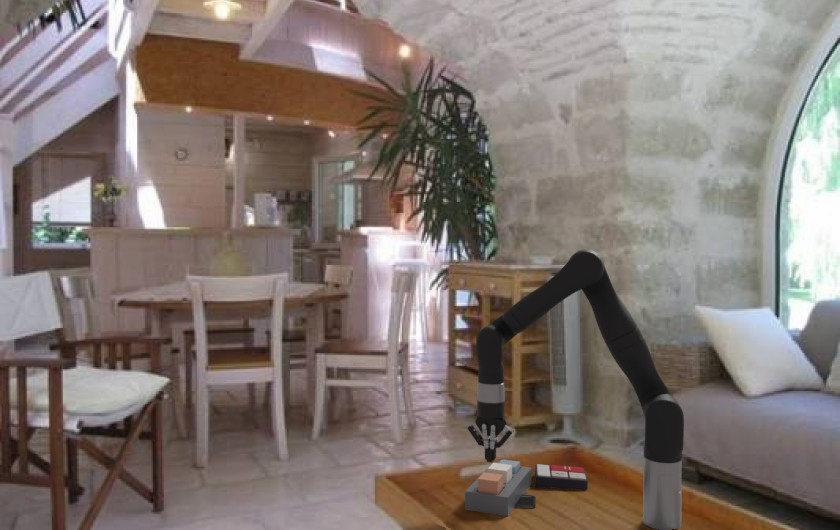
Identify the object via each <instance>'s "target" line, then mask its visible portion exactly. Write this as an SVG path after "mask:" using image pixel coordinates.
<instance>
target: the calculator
mask: <svg viewBox="0 0 840 530" xmlns="http://www.w3.org/2000/svg"><path fill="white" fill-rule="evenodd" d="M586 473H587V472H586V470H585V469H584V467H580V466H579V467H578V466H568V465H555V464H550V465H548V464H541V463H540V464H539V463H537V464H536V465H535V467H534V484H535V488H537V489H538V488H539V489H559V490H560V489H562V490H577V491H579V490H582V491H584V490H585V491H587V490H588V487H589V486H588V485H589V482H588V481H589V480H588V477H587V474H586Z"/></svg>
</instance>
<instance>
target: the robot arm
mask: <svg viewBox="0 0 840 530" xmlns="http://www.w3.org/2000/svg"><path fill="white" fill-rule="evenodd" d="M581 290H582V293H583V294H584V296H585V297H586V299H587V301H588V302H589V305H590V306H591V310H592V312H593V315H594V318H595V321H596V324H597V327H598V329H599V332H600V334H601V337H602V339H603V340H604V343H605V345H606V348H608V351H609V352H610V354H611V356H612V357H613V359H614V361H615V362H616V364H617V366H618V367H619V368H620V370H621V371H622V373H623V374H624V375H625V377H626V378H627V380H628V381H629V382H630V384H631V386H632V387H633V390H634V392H635V394H636V397H637V400H638V401H639V404H640V407H641V409H642V413H643V417H644V419H645V420H644V423H645V425H644V444H643V482H642V483H643V486H642V487H643V489H642V490H643V491H642V492H643V493H642V495H643V496H642V498H643V499H642V502H643V503H642V504H643V505H642V509H643V510H642V516H643V517H642V522H643V524H644V525H645V526H647V527H649V528H651V529H655V530H658V529H659V530H671V529H680V528H682V508H683V506H682V503H683V502H682V498H683V497H682V495H683V494H682V493H683V491H682V490H683V487H682V486H683V485H682V466H683V465H682V462H683V461H682V457H683V456H682V455H683V450H684V437H685V436H684V434H685V432H684V430H685V417H684V411H683V408H682V407H681V405H680V404H679V402H678V401H677V399H676V398H675V397H674V396H673V394H672V393H671V392H670V390H669V389H668V387H667V386H666V384H665V382H664V381H663V380H662V377H661V376H660V374H659V372H658V371H657V369H656V365H655V363H654V360H653V356H652V354H651V351H650V349H649V347H648V344H647V341H646V339H645V338H644V335H643V334H642V332H641V330H640V328H639V326H638V324H637V322H636V321H635V319H634V317H633V316H632V314H631V313H630V311H629V310H628V308H627V307H626V305H625V304H624V302H623V301H622V300H621V298H620V297H619V295H618V294H617V292H616V290H615V288H614V286H613V284H612V281H611V279H610V276H609V275H608V271H607V268H606V266H605V262H604V260H603V258H602V256H601V255H600V254H599V253H598V252H596V251H594V250H592V249H589V248H584V249H580V250H578V251H575V253H573V254H572V255H571V256H570V258H569V260H568V261H567V263H566V264H564V265H563V267H562V268H561V269H560V270H559V271H558V272H557V273H556V274H555V275H553V276H552V277H551V278H550V279H549V280H548V281H546V282H544V284H542V285H540V286H539V287H538V288H536V289H535V290H533V291H532V292H530V293H528V294H527V295H525V296H524V297H523V298H521V299H519V301H517V302H516V303H515V304H513V305H512V306H510V308H508V309H507V310H506V311H505V312H504V313H503V314H502V315H501V316H499V317H498V318H496V319H495V320H493V321H492V322H490V323H488V325H485V326H484V327H483V328H481V329H480V330H479V331H478V333H477V334H476V335H477V336H476V341H475V343H476V346H475V347H476V356H477V357H476V358H477V362H478V368H477V369H478V370H477V371H478V373H477V377H478V379H477V381H478V382H477V388H476V389H477V390H476V418H475V421H474V423H472V424H470V425H469V426H468V427H467V430H468V432H469V433H470V435H471V436H472V437H473V439H474V440H475V442H476V444H477V445H478V446H481V447H483V448H484V460H486V462H487V463H494V461H495V460H496V459H497V448H498V449H500V448H501V447H502V446H503V445H504V444H505V443H506V441H508V440H509V438H510V437H511V436H512V435H513V434H514V429H513V428H510V427H509V426H508V425H507V421H506V419H505V415H506V407H505V406H506V400H505V399H506V389H505V365H504V363H503V361H502V359H503V357H502V356H503V355H502V352H503V349H502V348H503V346H504V345H506V344H507V343H509V342H510V341H511V340H512V339H513V338H514V337H515V336H517V335H518V334H520V333H522V332H524V331H525V330H527V329H528V328H530V327H531V326H532V325H534V324H535V323H536V322H538V321H539V320H540V319H541V318H542V317H544V316H545V315H546V314H547V313H549V312H550V311H551V310H552V309H554V308H555V307H556V306H557V305H558V304H559V303H561V302H562V301H564V300H565V299H567V298H568V297H570V296H571V295H573V294H575V293H576V292H579V291H581ZM479 431H480V432H479ZM502 432H503V436H502V437H501V438H500V440H499V441H498V438H499V435H500V434H501V433H502ZM481 434H482V435H481ZM680 530H681V529H680Z"/></svg>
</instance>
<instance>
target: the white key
mask: <svg viewBox="0 0 840 530" xmlns="http://www.w3.org/2000/svg"><path fill="white" fill-rule="evenodd" d="M492 463H493V464H492ZM492 463H491V464H492V465H491V464H490V465H491V466H490V465H489V466H490V467H489V466H488V467H489V468H488V467H487V468H488V473H493V474H500V475H503V483H504V484H508V483H509V482H510V480H511V479H512V465H508V464H500V463H499V462H498V463H497V462H492Z"/></svg>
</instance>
